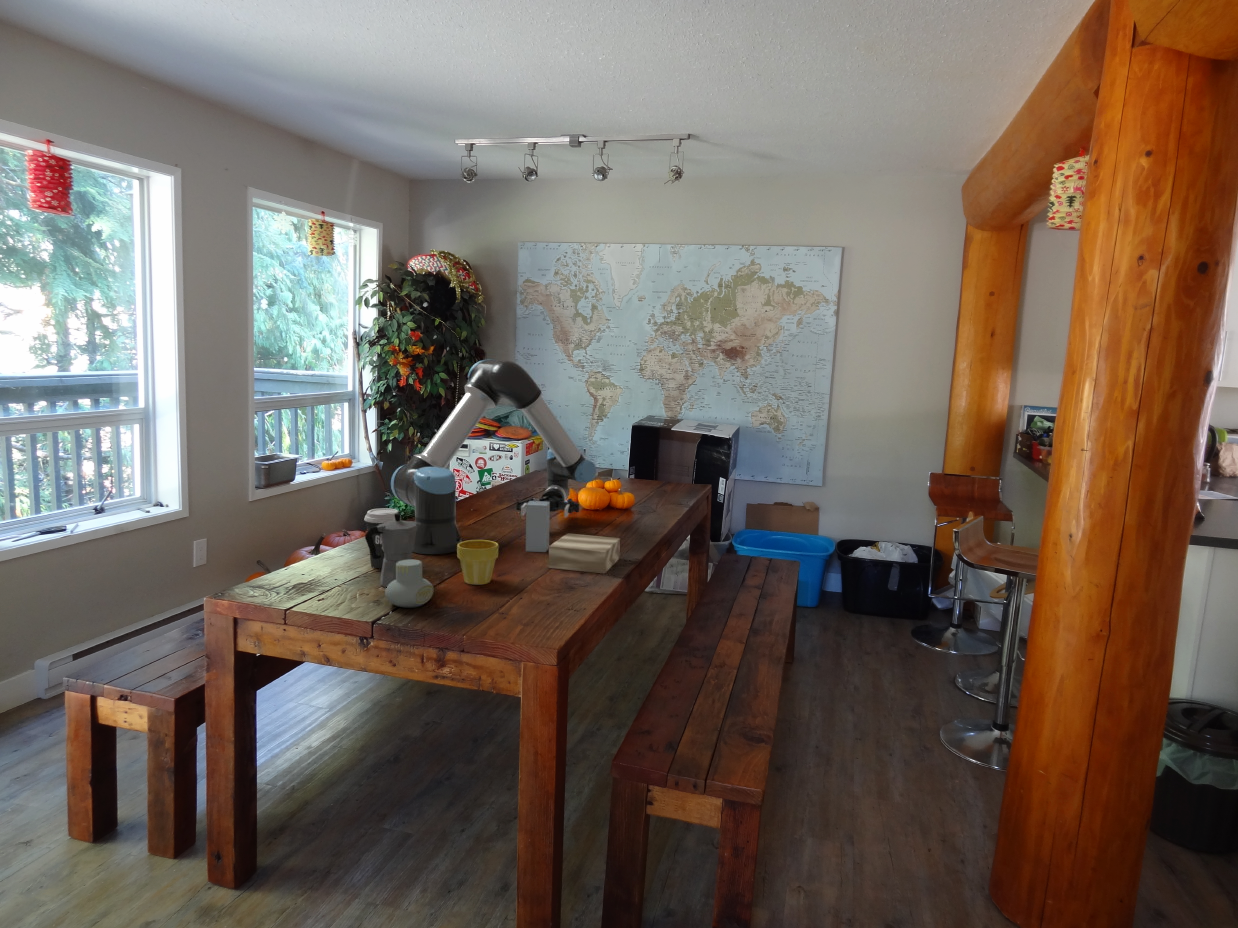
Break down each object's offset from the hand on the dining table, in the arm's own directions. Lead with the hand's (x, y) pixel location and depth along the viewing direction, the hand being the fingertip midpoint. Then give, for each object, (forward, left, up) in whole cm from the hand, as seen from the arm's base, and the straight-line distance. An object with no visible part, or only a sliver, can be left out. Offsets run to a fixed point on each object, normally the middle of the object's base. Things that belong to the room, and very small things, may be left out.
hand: (543, 512), depth 244 cm
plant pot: (-38, -24, -9) cm, 46 cm away
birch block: (-5, -27, -9) cm, 29 cm away
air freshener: (-60, -30, -9) cm, 68 cm away
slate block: (-7, -7, -9) cm, 13 cm away
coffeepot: (-56, -14, -9) cm, 59 cm away
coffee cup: (-51, +3, -9) cm, 52 cm away
